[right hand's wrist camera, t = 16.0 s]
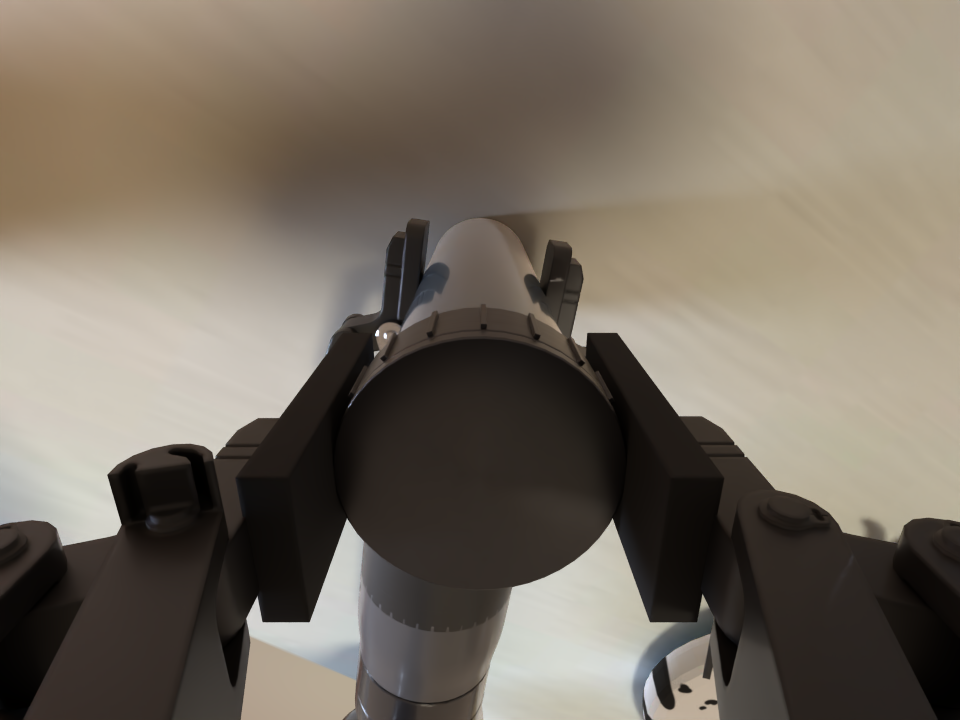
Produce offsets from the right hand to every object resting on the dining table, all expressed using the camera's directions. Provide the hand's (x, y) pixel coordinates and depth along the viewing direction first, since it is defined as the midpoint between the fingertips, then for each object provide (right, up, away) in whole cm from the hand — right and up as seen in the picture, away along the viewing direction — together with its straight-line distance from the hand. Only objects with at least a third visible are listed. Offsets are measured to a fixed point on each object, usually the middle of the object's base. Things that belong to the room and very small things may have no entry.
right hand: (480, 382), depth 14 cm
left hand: (0, +5, +7) cm, 9 cm away
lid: (0, -1, -4) cm, 4 cm away
